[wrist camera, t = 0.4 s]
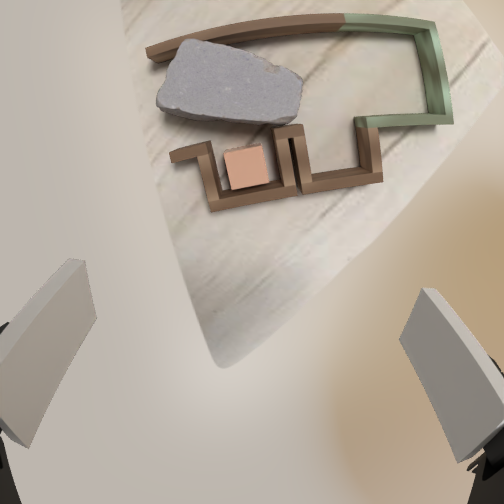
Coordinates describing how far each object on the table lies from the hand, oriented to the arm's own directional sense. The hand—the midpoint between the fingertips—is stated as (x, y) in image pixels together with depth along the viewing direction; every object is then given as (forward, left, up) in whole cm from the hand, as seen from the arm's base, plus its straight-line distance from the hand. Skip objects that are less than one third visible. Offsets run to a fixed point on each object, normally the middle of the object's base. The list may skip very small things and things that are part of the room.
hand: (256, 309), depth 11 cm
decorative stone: (-11, -1, -26) cm, 28 cm away
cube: (-1, 0, -26) cm, 26 cm away
